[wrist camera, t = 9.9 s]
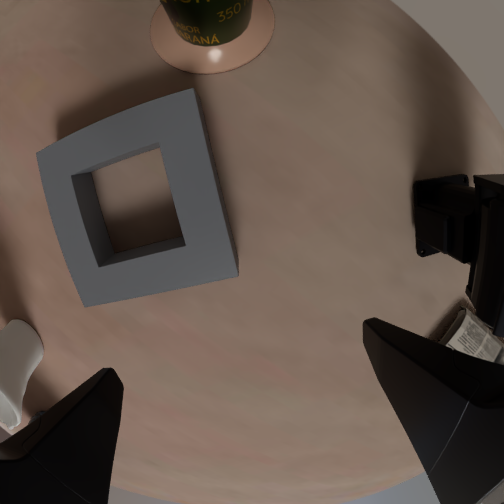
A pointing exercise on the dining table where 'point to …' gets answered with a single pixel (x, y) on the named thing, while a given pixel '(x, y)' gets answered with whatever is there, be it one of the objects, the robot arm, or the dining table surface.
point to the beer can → (208, 20)
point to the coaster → (214, 56)
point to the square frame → (183, 192)
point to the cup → (16, 367)
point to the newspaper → (473, 338)
